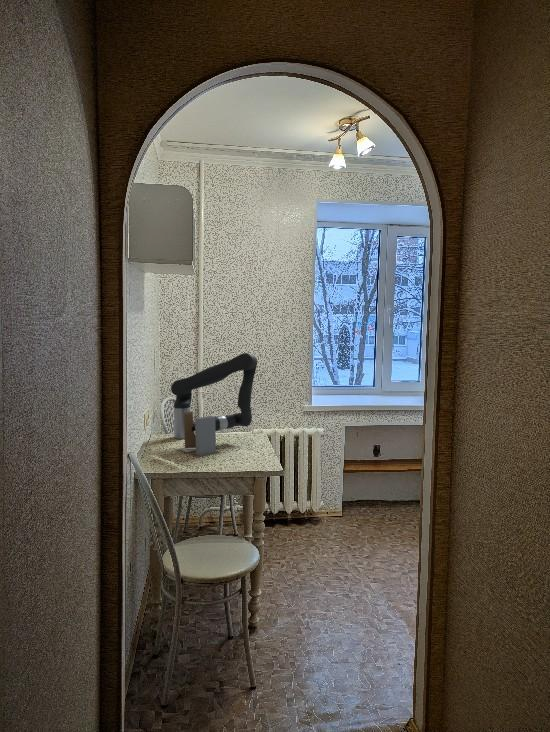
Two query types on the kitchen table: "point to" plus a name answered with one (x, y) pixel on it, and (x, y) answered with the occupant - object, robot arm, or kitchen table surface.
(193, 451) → the base board
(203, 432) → the slate post
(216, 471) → the kitchen table surface
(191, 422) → the wooden block
